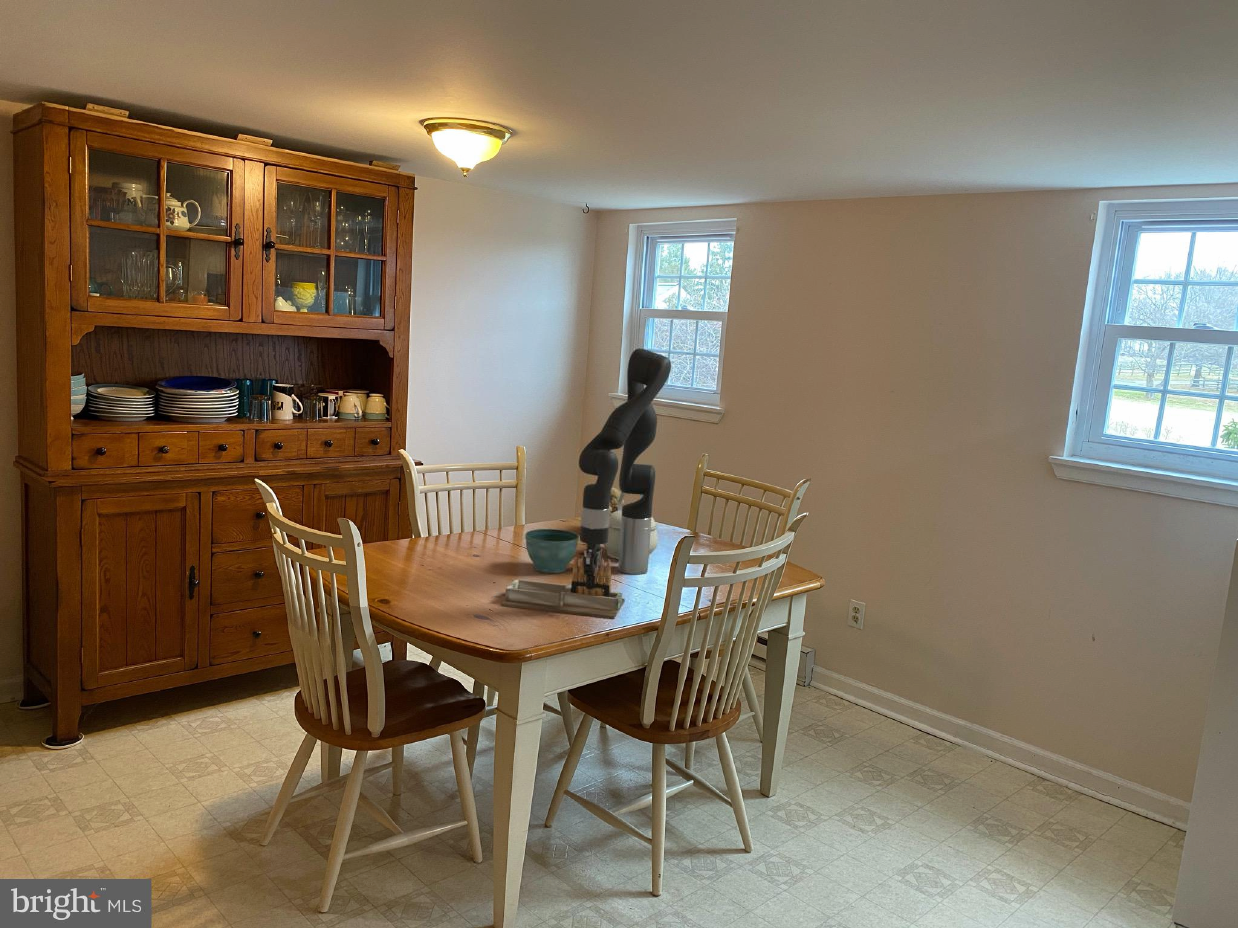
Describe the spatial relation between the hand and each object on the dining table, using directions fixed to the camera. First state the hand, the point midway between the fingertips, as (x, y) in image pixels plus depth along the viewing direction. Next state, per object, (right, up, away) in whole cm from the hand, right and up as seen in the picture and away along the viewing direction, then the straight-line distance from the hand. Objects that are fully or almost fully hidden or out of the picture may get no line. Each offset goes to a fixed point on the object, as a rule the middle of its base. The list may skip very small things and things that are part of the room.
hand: (590, 587), depth 245 cm
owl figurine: (+3, +8, +89) cm, 90 cm away
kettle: (+10, +3, +59) cm, 60 cm away
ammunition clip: (0, -4, +1) cm, 4 cm away
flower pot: (-13, +1, +35) cm, 37 cm away
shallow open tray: (-7, -5, +2) cm, 9 cm away
